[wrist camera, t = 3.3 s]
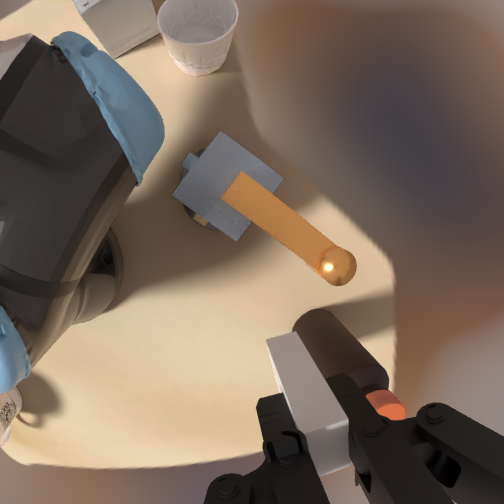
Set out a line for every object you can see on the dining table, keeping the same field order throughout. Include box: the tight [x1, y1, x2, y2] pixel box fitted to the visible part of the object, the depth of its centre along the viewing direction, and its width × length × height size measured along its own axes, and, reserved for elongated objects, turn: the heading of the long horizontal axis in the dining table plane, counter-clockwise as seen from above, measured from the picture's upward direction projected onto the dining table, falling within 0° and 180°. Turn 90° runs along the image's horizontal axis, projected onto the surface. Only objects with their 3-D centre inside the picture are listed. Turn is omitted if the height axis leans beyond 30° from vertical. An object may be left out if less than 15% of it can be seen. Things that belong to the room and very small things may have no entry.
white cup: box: [157, 0, 239, 76], centre depth 27 cm, size 8×8×10 cm
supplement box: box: [73, 0, 160, 59], centre depth 24 cm, size 7×7×13 cm
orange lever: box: [172, 131, 357, 286], centre depth 27 cm, size 7×17×13 cm, turn 53°
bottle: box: [292, 310, 406, 420], centre depth 31 cm, size 7×7×20 cm
